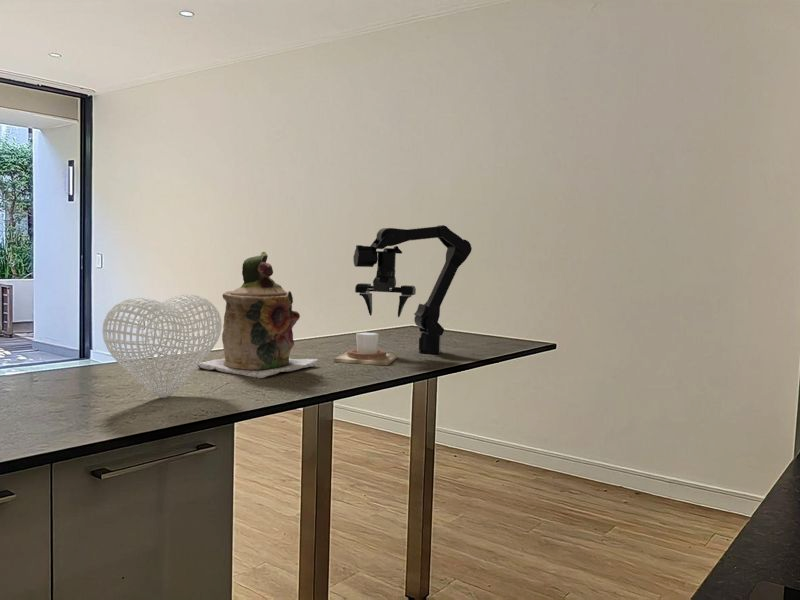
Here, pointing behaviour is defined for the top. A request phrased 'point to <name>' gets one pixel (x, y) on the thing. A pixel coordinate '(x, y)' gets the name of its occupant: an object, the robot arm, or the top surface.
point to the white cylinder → (367, 342)
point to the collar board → (366, 358)
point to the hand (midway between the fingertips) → (384, 316)
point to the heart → (162, 339)
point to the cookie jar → (258, 326)
